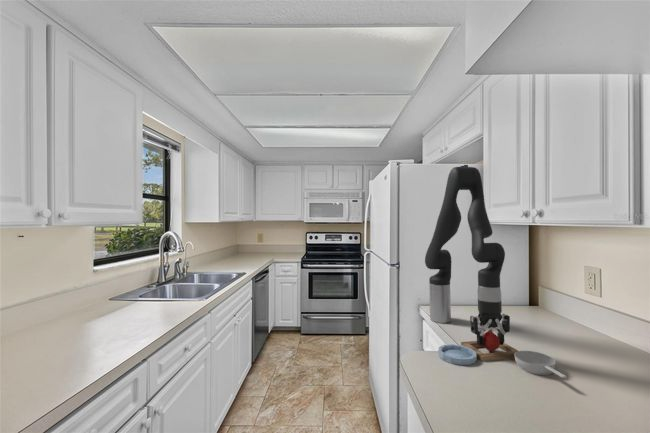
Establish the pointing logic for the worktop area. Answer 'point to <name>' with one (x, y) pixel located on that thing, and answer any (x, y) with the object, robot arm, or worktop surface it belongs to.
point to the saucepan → (536, 363)
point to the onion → (491, 341)
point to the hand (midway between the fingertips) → (490, 344)
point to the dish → (457, 354)
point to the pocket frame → (491, 356)
